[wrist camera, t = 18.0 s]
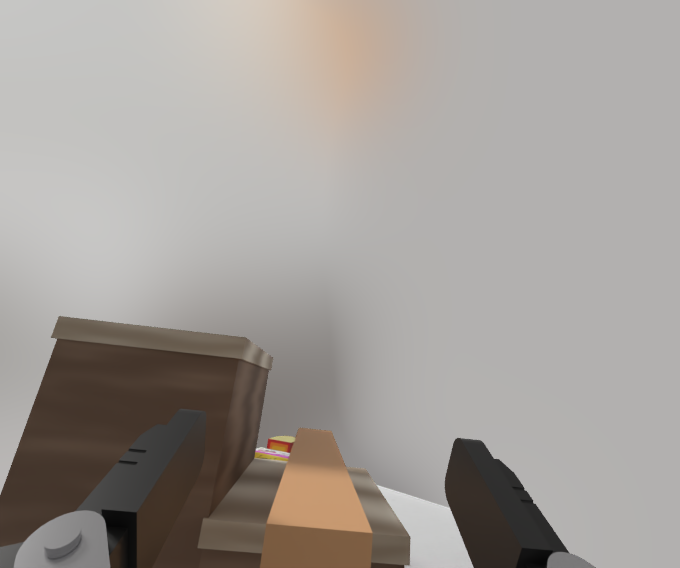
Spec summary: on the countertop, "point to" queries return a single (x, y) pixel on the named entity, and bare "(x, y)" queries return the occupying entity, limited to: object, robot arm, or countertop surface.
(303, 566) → the brown block
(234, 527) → the walnut riser
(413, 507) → the countertop surface
